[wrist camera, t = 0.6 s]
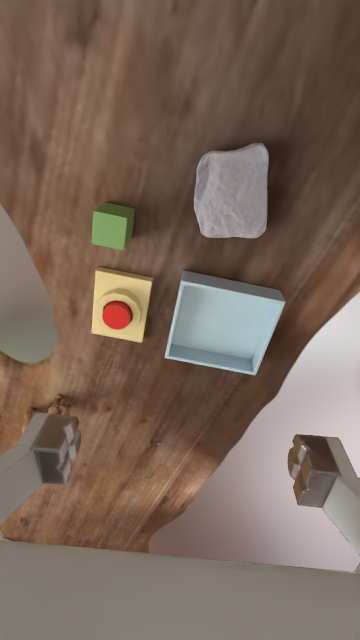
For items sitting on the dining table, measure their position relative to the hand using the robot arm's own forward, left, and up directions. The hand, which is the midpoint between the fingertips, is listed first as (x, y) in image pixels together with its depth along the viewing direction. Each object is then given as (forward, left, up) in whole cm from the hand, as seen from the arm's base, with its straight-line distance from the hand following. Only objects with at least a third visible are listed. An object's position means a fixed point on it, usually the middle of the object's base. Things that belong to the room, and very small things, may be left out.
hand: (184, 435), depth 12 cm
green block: (+4, -11, -41) cm, 42 cm away
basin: (+17, +8, -41) cm, 45 cm away
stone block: (-3, +4, -41) cm, 41 cm away
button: (+18, -9, -38) cm, 43 cm away
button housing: (+18, -9, -41) cm, 45 cm away
